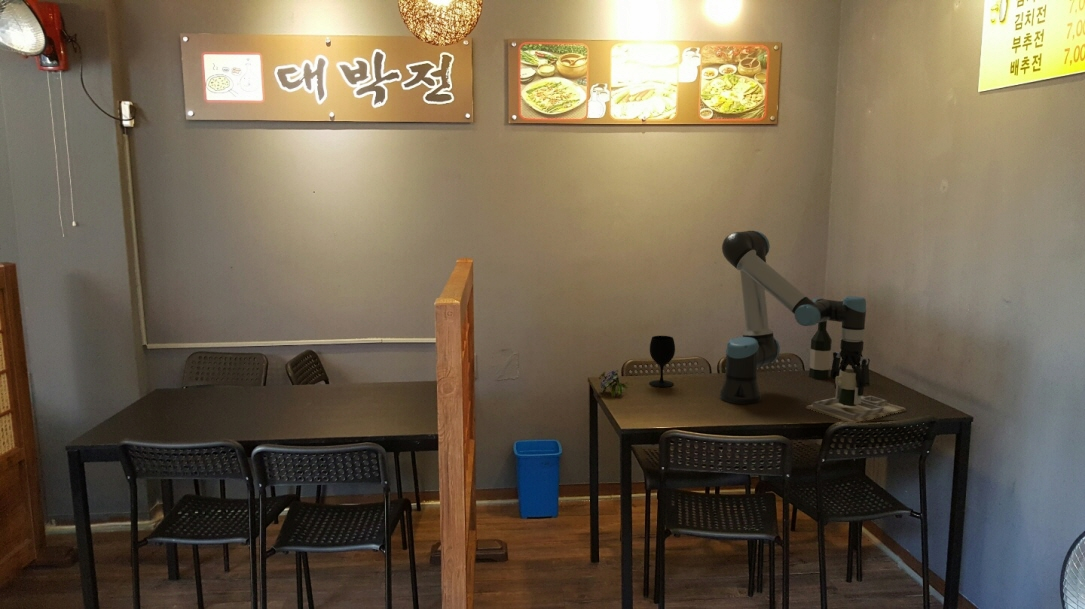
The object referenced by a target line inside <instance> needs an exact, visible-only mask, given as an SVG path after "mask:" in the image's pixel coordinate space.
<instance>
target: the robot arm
mask: <svg viewBox="0 0 1085 609" xmlns="http://www.w3.org/2000/svg"><path fill="white" fill-rule="evenodd" d="M770 246H771V245H770V241H769V239H768V237H767V236H766V235H765V234H764V233H762V232H760V231H759V230H746V231H745V230H744V231H735V232H732V233H730V234H728V235H727V236H725V238H724V239H723V242H722V245H721V251H722V254H723V257H724V258H725V259H726V261H728V263H729V264H730V265H732V267H734V269H736V270H737V271H740V280H741V282H740V283H741V291H742V292H741V293H742V300H743V308H744V309H743V310H744V311H743V312H744V319H745V321H744V322H745V331H744V332H743V333H742V336H740V337H737V336H736V337H734V338H731V339H729V340H728V341H727V344H726V349H725V353H726V354H725V378H724V382H723V385H722V387H721V389H720V391H719V392H720V393H719V397H720V400H723V401H724V402H727V403H731V404H735V405H737V404H738V405H739V404H740V405H753V404H757V403H759V402H761V395H762V394H761V391H760V390H759V385H758V380H757V377H758V369H759V368H761V367H767V366H769V365H771V364H772V363H774V362H775V361H776V360H777V358H778V357H779V355H780V351H781V349H780V347H781V346H780V343H779V341H778V340H777V339H776V338H775V337H774V331H773V330H772V329H771V328H770V327H769V317H768V308H767V299H766V298H767V297H766V292H767V293H769V294H770V295H771V296H773V298H774V299H776V300H777V301H778V302H779V303H780V304H782V305H783V306H784V307H785V308H787V309H788V311H790V312H791V313H792V314H794V319H795V321H796V323H797V324H798V325H800V326H802V327H810V326H815V325H816V324H817V325H818V323H820V322H824V321H827V322H828V321H831V322H837V323H838V322H839V323H841V329H840V330H841V333H840V338H841V340H840V346H839V347H840V351H835V352H832V358H833V360H832V365H831V368H830V369H831V370H830V374H829V378H831V379H833V380H834V389H835V397H834V398H836V399H839V397H840V393H841V390H842V389H843V388H841V387H839V385H836V383H835V381H836V376H839V373H840V369H841V371H845V370H846V368H848V366H851V369H853V370H854V373H856V382H857V386H856V387H855V397H854V404H855V405H857V404H861V396H864V391H865V390H864V388H865V387H869V386H870V367H869V364H870V362H871V360H870V358H865V357H864V356H863V351H864V343H865V342H864V341H863V340H864V338H865V327H866V326H865V325H866V318H867V315H866V314H867V299H866V298H865V297H861V296H854V295H853V296H851V295H849V296H844V297H843V301H841V300H832V299H825V298H813V299H810V298H809V297H808V296H807V295H806V294H804V293H803V292H802V291H801V290H800V289H798V288H797V287H796V286H794V284H792V283H791V282H790V281H788V279H786V278H785V277H784V276H782V275H781V274H780V273H779V272H778V271H777V270H775V269H774V268H773V267H772V266H770V265H769V264H768V263H767V255H768V254H769V252H770V248H771V247H770ZM838 381H839V379H838Z"/></svg>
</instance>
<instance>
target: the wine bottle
mask: <svg viewBox="0 0 1085 609" xmlns="http://www.w3.org/2000/svg"><path fill="white" fill-rule="evenodd" d="M827 322H828V320H827V321H824V322H820V323H817V325H818V326H817V330H816V332H815V333H814V335H813V336H812V337H811V338H810V340H811V342H810V354H809V355H810V356H809V370H808V371H809V374H808V377H809V378H811V377H812V378H811V379H813V378H816V379H815V380H820V379H821V380H822V379H825V380H829V379H830V374H831V370H830V369H831V358H832V357H831V356H832V355H831V354H832V340H833V339H832V338H831V336H830V334H829V332H828V331H827V327H828V326H827V325H828V324H827ZM828 378H829V379H828ZM822 381H823V380H822Z"/></svg>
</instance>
